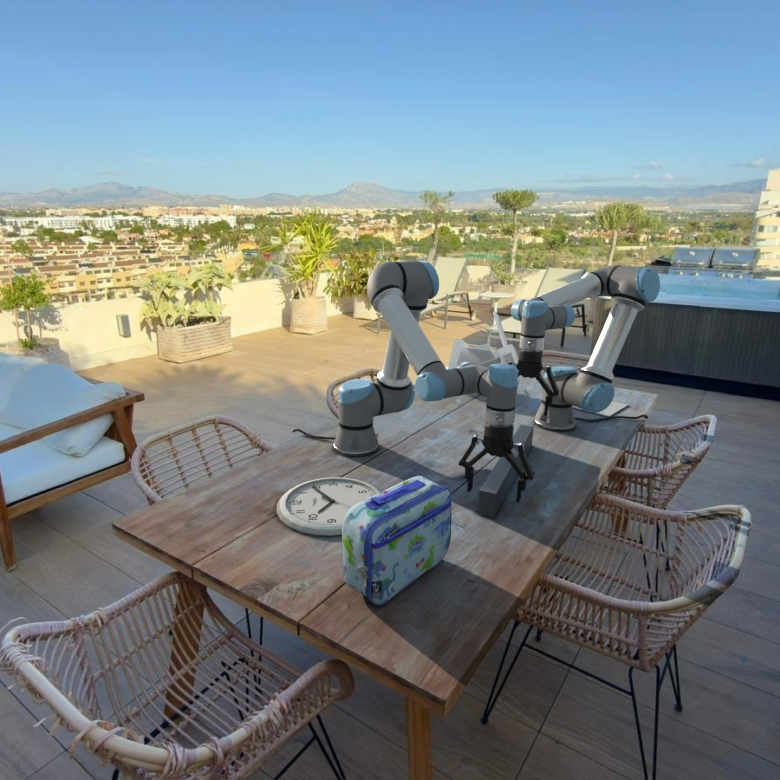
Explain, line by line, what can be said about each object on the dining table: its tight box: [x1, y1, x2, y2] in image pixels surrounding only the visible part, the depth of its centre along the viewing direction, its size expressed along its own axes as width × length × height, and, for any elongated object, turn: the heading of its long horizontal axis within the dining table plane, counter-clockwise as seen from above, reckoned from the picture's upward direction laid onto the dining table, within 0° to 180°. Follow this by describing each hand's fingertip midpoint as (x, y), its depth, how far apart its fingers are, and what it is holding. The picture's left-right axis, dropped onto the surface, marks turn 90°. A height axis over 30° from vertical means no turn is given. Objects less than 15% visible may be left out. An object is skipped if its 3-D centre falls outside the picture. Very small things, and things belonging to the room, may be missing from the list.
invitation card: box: [573, 400, 629, 417], centre depth 226 cm, size 21×1×15 cm
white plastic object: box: [445, 310, 531, 399], centre depth 245 cm, size 37×45×31 cm
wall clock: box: [276, 476, 382, 537], centre depth 142 cm, size 30×2×30 cm
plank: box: [477, 424, 535, 519], centre depth 161 cm, size 54×4×7 cm, turn 155°
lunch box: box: [341, 475, 453, 606], centre depth 111 cm, size 26×11×21 cm, turn 134°
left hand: (493, 495), depth 144 cm, fingers open, 13 cm apart
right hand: (524, 411), depth 175 cm, fingers open, 13 cm apart
